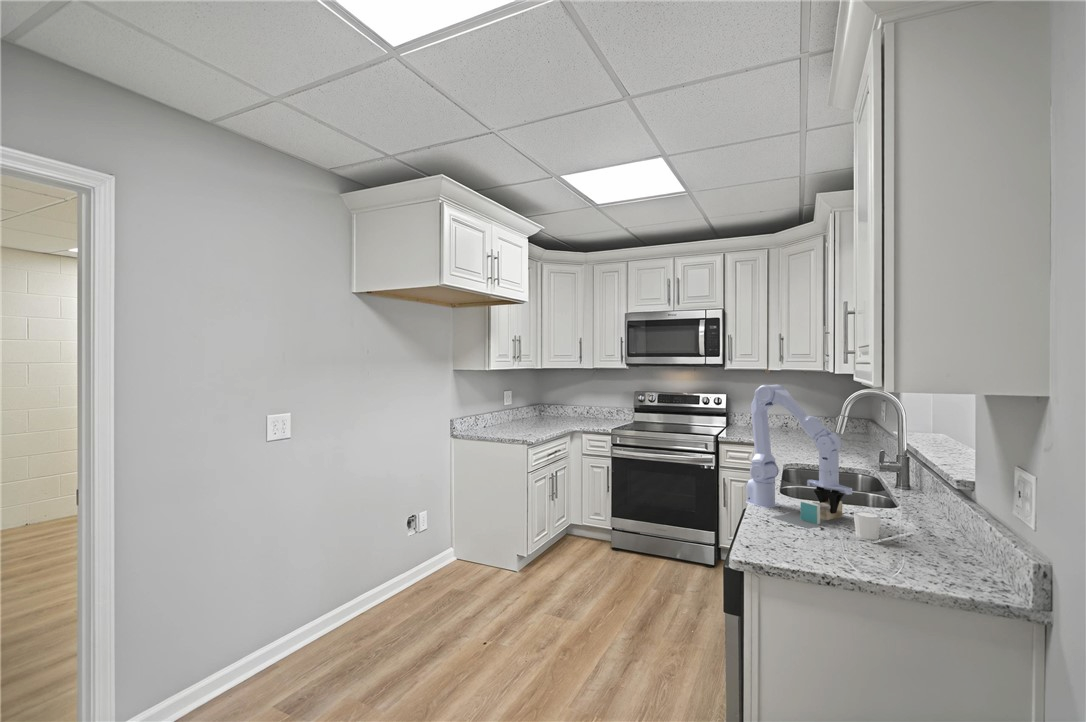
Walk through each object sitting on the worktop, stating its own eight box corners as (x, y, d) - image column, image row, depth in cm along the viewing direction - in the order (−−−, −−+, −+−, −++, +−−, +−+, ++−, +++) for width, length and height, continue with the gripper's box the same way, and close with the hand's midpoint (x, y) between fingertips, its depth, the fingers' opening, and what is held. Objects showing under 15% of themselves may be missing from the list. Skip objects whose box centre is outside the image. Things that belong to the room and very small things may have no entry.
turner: (831, 514, 176) (831, 499, 176) (846, 517, 172) (845, 502, 172) (808, 518, 171) (808, 503, 171) (822, 522, 167) (822, 507, 167)
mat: (770, 518, 173) (770, 516, 173) (817, 509, 184) (817, 508, 184) (808, 530, 161) (808, 528, 161) (857, 520, 171) (856, 518, 171)
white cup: (886, 542, 150) (886, 517, 150) (862, 542, 150) (862, 517, 150) (871, 534, 157) (871, 511, 157) (848, 534, 157) (848, 511, 157)
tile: (800, 519, 170) (800, 501, 170) (803, 519, 171) (803, 500, 171) (817, 524, 165) (817, 505, 165) (820, 524, 165) (819, 505, 165)
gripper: (801, 467, 177) (801, 508, 177) (842, 475, 164) (842, 519, 164) (814, 466, 180) (814, 505, 180) (856, 473, 167) (856, 516, 167)
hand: (829, 511), depth 172 cm, fingers closed on turner, 2 cm apart
